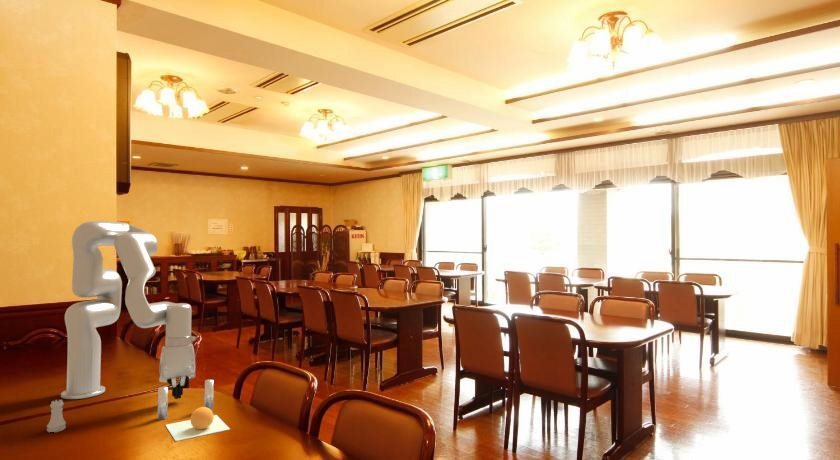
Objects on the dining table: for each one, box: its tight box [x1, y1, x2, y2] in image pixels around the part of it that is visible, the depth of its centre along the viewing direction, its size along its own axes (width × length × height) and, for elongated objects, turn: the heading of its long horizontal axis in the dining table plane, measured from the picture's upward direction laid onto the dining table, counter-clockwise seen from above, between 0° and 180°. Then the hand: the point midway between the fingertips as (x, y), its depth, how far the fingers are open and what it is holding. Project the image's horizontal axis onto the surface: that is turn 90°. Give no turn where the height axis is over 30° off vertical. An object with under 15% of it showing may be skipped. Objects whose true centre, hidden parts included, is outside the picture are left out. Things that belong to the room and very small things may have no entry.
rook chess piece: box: [46, 399, 67, 433], centre depth 138 cm, size 4×4×8 cm
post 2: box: [203, 378, 215, 411], centre depth 156 cm, size 3×3×9 cm
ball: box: [189, 406, 215, 430], centre depth 140 cm, size 6×6×6 cm
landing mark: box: [164, 414, 231, 442], centre depth 140 cm, size 14×14×1 cm
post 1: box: [157, 386, 169, 420], centre depth 148 cm, size 3×3×9 cm
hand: (177, 397), depth 162 cm, fingers closed
